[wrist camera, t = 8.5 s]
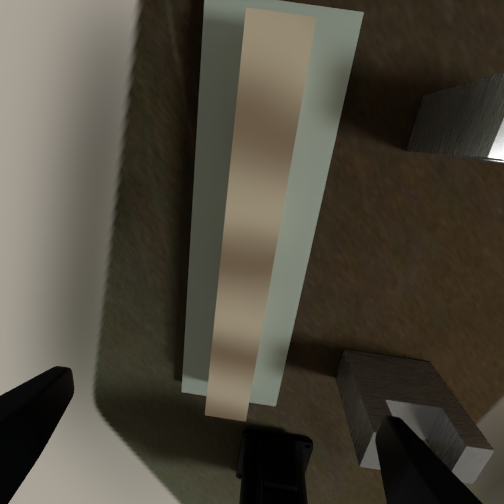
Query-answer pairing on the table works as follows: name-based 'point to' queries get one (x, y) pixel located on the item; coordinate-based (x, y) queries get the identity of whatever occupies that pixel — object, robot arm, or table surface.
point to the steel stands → (415, 371)
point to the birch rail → (255, 197)
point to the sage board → (298, 188)
